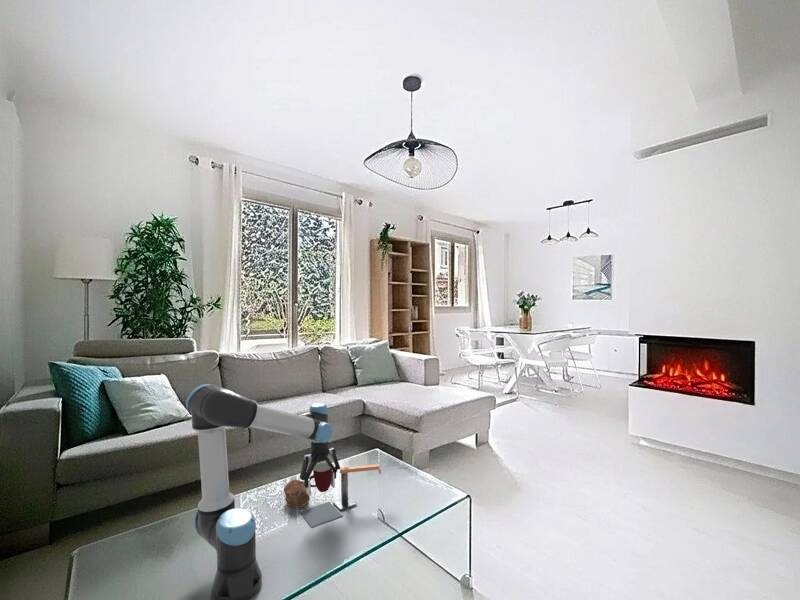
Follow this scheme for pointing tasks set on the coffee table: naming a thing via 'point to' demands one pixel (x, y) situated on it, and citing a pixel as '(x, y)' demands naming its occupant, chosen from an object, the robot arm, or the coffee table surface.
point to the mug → (322, 477)
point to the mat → (320, 514)
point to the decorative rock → (296, 493)
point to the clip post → (344, 495)
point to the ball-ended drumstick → (360, 468)
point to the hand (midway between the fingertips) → (320, 490)
